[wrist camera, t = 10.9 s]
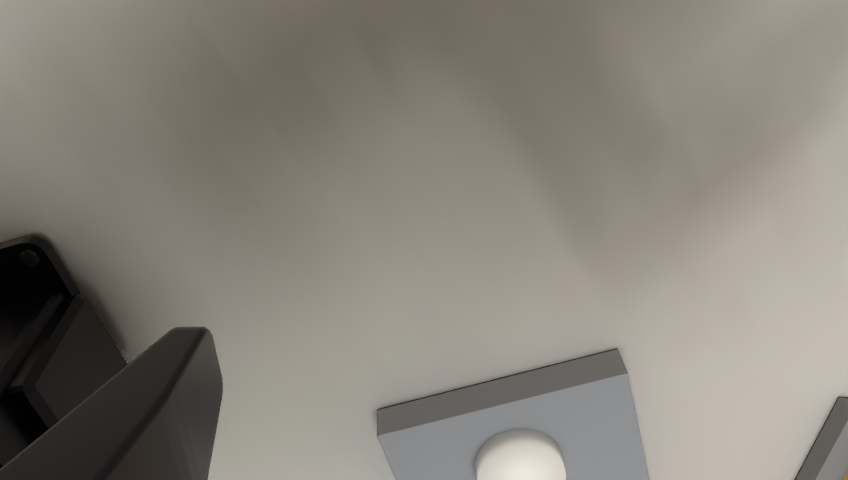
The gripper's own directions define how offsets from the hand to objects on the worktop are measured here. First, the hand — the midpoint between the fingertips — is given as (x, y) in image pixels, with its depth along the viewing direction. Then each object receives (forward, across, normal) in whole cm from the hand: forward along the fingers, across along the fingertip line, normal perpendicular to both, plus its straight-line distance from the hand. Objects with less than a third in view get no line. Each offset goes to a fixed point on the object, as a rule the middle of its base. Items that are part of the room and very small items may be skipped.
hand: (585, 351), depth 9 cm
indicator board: (+11, -2, +18) cm, 21 cm away
